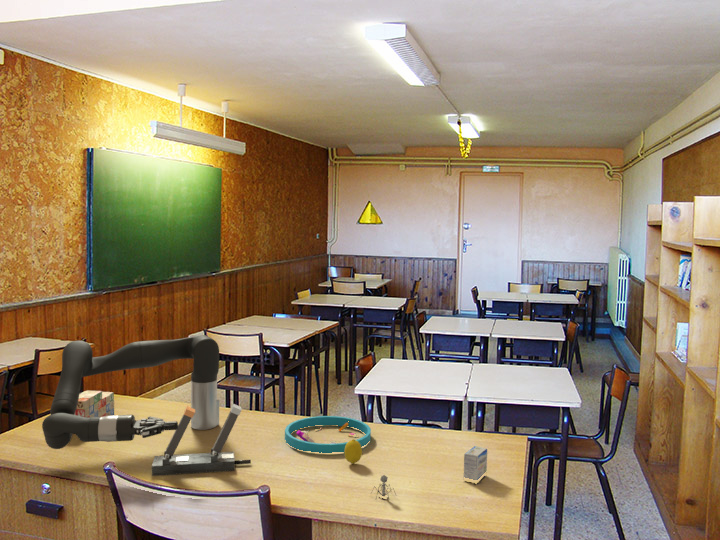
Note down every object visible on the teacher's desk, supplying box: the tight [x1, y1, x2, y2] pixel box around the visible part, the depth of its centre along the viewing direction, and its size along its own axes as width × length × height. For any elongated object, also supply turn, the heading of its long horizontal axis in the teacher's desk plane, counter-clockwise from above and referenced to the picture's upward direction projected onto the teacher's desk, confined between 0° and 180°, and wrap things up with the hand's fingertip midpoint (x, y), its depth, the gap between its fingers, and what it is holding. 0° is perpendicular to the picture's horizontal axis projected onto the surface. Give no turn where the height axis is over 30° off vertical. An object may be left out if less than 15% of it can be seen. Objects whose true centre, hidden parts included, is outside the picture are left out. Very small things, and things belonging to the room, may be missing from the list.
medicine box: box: [463, 445, 488, 480], centre depth 189 cm, size 8×4×9 cm, turn 148°
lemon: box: [343, 438, 363, 464], centre depth 198 cm, size 6×6×8 cm
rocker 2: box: [212, 403, 243, 455], centre depth 193 cm, size 3×4×17 cm, turn 13°
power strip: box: [151, 447, 252, 477], centre depth 192 cm, size 29×8×5 cm, turn 102°
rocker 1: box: [164, 405, 195, 458], centre depth 190 cm, size 3×4×17 cm, turn 13°
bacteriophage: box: [370, 474, 397, 500], centre depth 175 cm, size 7×8×7 cm
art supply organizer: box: [284, 415, 372, 453], centre depth 220 cm, size 30×30×6 cm
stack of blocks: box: [75, 390, 115, 418], centre depth 229 cm, size 21×6×12 cm, turn 175°
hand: (177, 425), depth 189 cm, fingers closed
